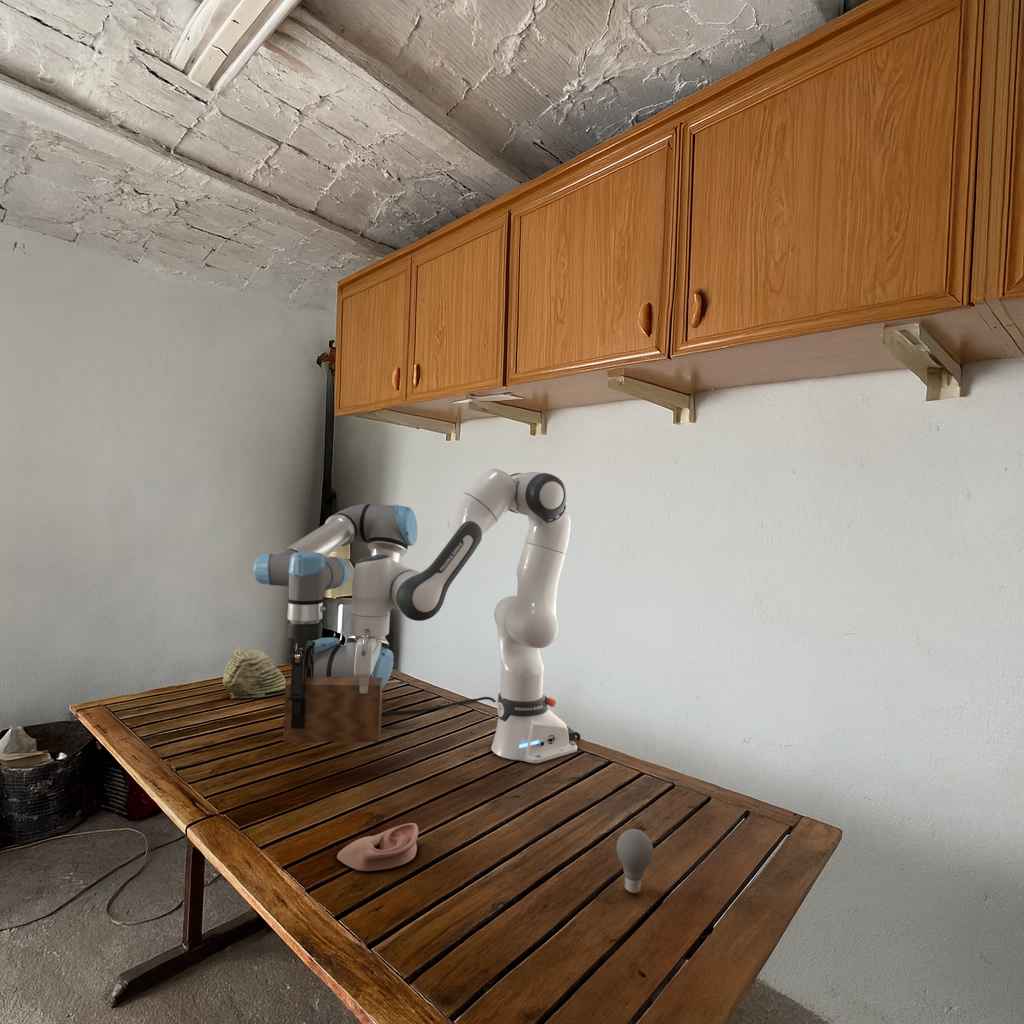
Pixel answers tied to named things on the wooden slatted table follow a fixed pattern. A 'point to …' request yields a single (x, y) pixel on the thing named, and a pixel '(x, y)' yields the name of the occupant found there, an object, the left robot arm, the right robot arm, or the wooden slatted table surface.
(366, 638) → the right robot arm
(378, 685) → the box
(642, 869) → the light bulb
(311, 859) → the wooden slatted table surface
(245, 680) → the fossil
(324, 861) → the wooden slatted table surface
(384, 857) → the anatomical model
